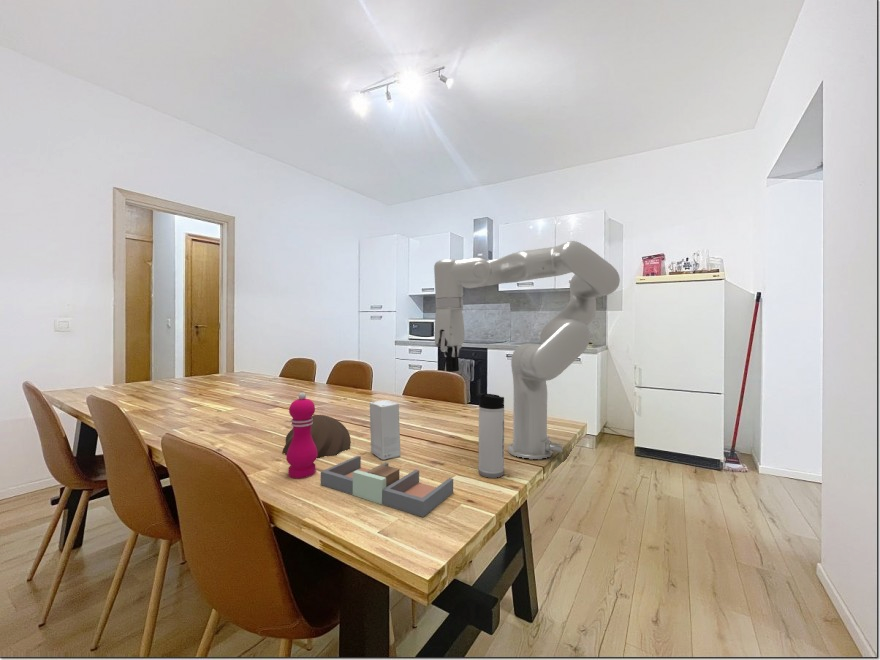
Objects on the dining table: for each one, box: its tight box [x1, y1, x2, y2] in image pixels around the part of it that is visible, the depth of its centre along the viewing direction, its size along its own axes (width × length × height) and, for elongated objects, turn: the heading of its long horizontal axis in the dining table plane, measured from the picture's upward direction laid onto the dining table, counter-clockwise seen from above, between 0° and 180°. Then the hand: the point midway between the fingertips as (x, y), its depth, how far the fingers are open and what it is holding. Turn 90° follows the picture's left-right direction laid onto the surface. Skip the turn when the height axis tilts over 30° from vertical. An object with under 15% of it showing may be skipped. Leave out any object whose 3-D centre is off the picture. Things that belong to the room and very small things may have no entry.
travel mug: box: [477, 392, 505, 479], centre depth 91 cm, size 6×7×20 cm
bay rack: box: [320, 455, 454, 518], centre depth 82 cm, size 28×12×5 cm, turn 60°
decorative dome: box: [282, 414, 352, 459], centre depth 110 cm, size 19×20×10 cm
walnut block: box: [368, 464, 400, 487], centre depth 82 cm, size 5×5×4 cm
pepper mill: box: [285, 392, 318, 479], centre depth 90 cm, size 7×7×20 cm
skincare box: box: [369, 399, 401, 461], centre depth 104 cm, size 8×6×15 cm
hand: (452, 371), depth 102 cm, fingers closed
